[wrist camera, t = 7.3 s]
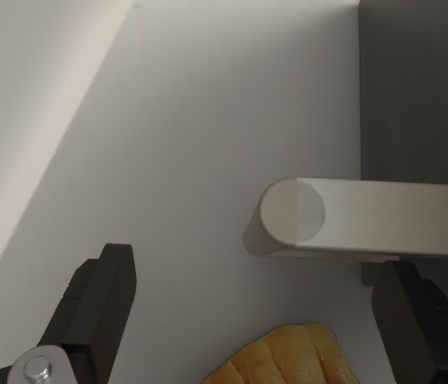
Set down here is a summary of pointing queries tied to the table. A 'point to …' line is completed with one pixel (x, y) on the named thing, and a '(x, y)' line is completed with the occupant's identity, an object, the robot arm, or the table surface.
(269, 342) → the pastry
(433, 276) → the door
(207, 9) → the table surface
